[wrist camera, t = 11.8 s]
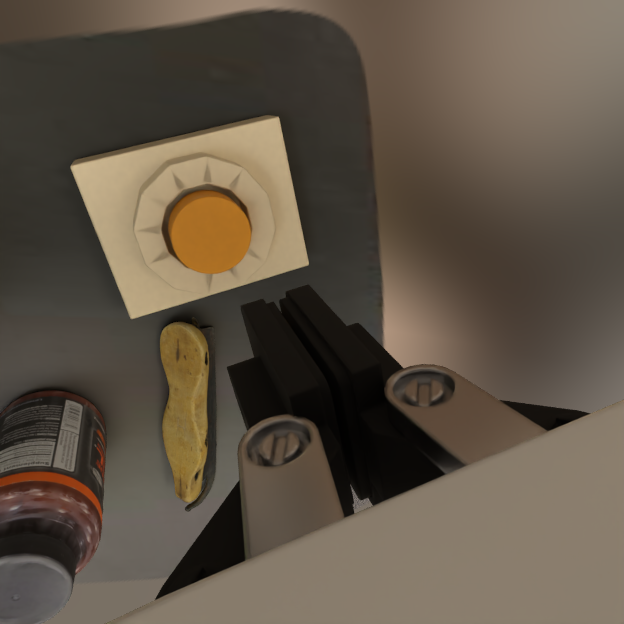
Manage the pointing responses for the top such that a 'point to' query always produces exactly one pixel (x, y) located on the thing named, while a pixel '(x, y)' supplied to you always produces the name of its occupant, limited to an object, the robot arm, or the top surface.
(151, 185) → the button box
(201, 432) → the tan elongated lumpy piece
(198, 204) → the button
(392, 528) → the robot arm
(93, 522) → the supplement bottle
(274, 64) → the top surface
